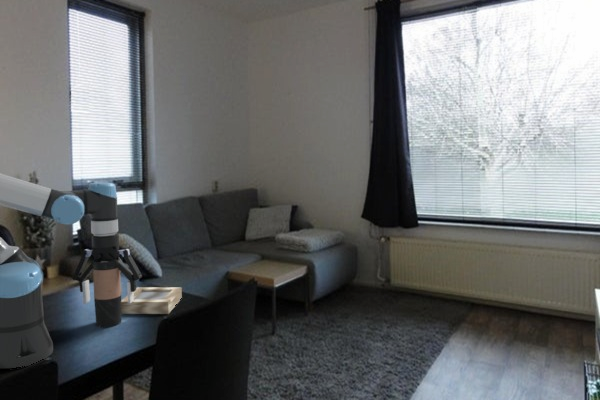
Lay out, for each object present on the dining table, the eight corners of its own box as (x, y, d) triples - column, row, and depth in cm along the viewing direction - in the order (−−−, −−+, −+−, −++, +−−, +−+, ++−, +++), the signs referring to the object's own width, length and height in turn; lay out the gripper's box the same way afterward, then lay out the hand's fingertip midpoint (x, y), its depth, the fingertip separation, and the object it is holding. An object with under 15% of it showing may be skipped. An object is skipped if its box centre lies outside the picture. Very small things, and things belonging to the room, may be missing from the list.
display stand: (119, 313, 144) (119, 301, 144) (137, 297, 160) (137, 287, 160) (168, 313, 144) (168, 302, 144) (181, 298, 160) (181, 287, 160)
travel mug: (112, 328, 132) (109, 263, 130) (89, 326, 133) (86, 261, 131) (127, 319, 139) (125, 257, 137) (105, 317, 141) (103, 256, 139)
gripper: (150, 231, 137) (153, 297, 139) (70, 231, 137) (74, 298, 139) (141, 235, 130) (145, 305, 132) (57, 236, 130) (61, 306, 132)
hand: (108, 302), depth 136 cm, fingers open, 13 cm apart
